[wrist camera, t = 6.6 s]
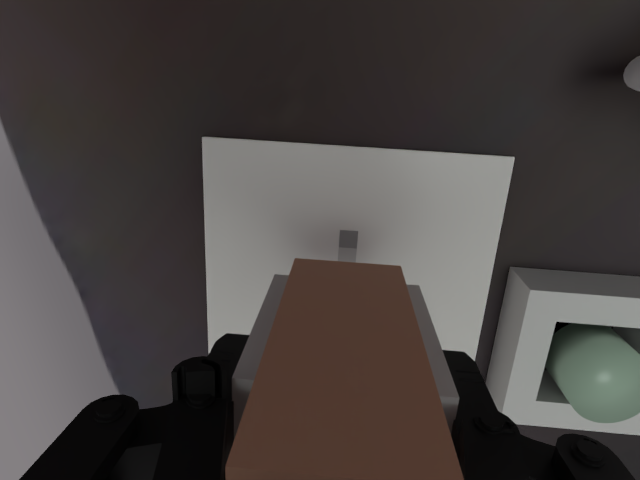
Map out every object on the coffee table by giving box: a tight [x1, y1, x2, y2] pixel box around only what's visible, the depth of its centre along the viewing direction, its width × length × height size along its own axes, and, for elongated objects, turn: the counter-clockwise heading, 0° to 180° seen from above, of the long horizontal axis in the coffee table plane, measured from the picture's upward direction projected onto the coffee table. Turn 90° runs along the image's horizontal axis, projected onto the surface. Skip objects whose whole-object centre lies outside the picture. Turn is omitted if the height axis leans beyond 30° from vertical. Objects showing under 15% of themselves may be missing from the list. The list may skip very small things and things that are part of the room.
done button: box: [545, 323, 640, 423], centre depth 23 cm, size 4×4×3 cm
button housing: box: [485, 267, 640, 435], centre depth 24 cm, size 8×8×3 cm
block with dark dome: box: [225, 258, 464, 480], centre depth 12 cm, size 4×4×11 cm
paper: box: [202, 136, 515, 361], centre depth 26 cm, size 20×16×1 cm
